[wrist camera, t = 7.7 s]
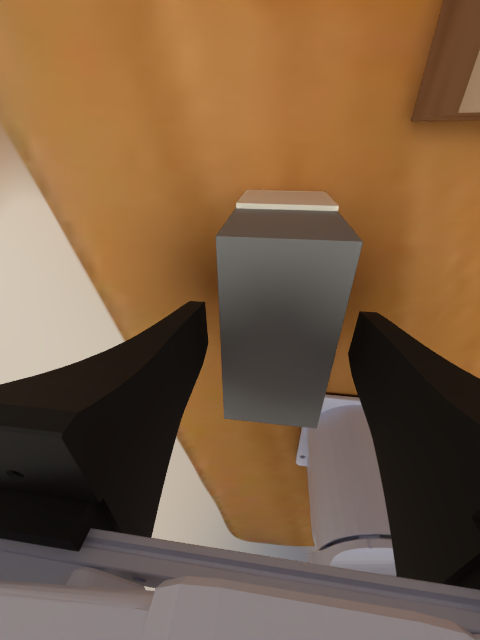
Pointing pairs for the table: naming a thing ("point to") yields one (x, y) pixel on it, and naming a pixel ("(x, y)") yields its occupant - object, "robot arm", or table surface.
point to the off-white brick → (287, 200)
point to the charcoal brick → (282, 310)
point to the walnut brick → (452, 66)
